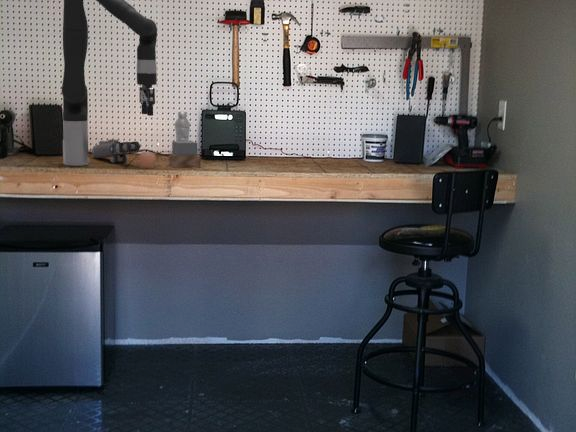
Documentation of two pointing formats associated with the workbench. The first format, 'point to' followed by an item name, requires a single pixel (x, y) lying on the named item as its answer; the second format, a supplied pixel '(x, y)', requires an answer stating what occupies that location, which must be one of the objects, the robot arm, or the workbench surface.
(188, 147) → the grey square block
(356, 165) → the workbench surface
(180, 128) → the grey figurine
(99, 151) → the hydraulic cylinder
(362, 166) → the workbench surface
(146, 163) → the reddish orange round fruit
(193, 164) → the tower base
